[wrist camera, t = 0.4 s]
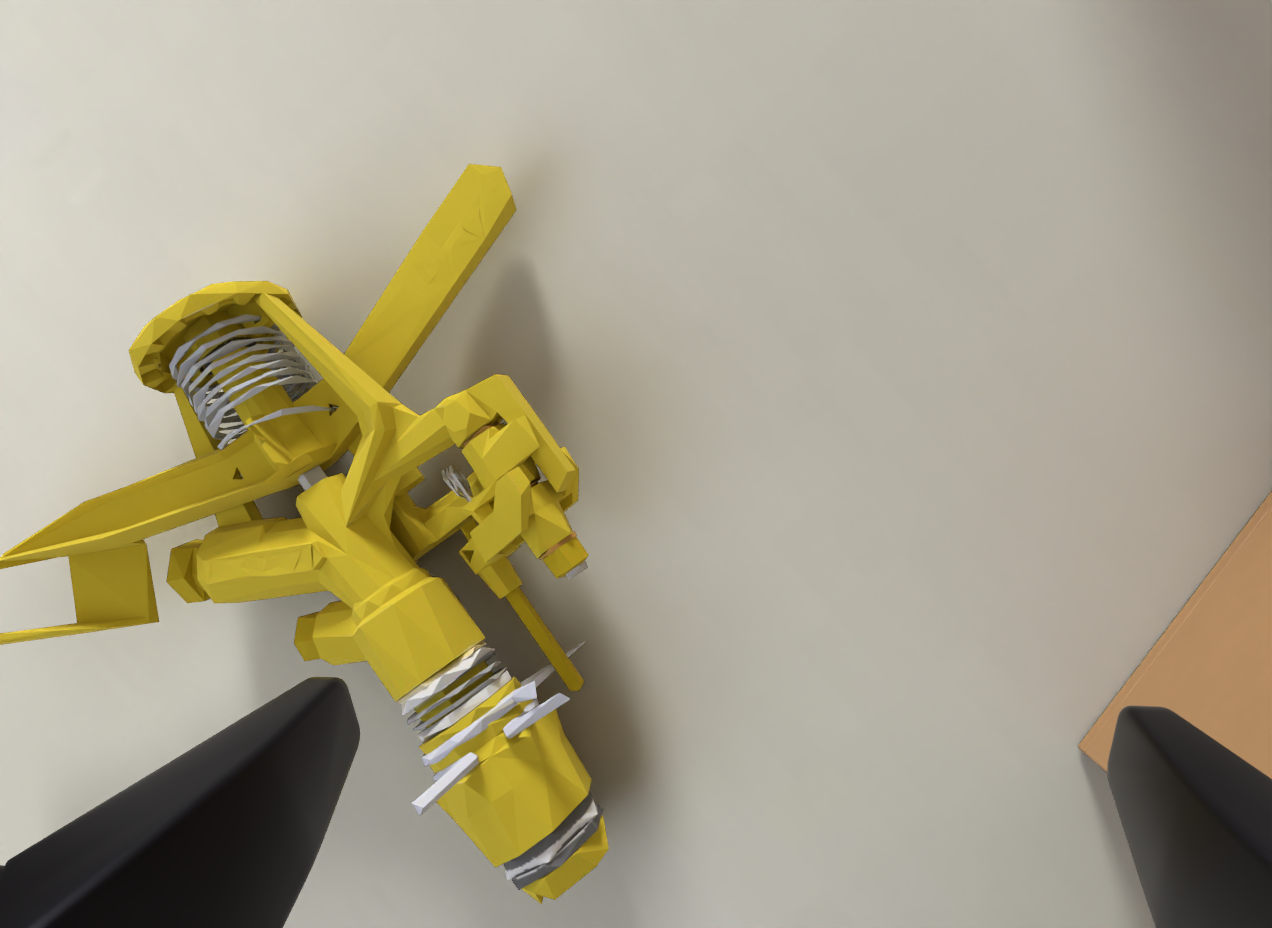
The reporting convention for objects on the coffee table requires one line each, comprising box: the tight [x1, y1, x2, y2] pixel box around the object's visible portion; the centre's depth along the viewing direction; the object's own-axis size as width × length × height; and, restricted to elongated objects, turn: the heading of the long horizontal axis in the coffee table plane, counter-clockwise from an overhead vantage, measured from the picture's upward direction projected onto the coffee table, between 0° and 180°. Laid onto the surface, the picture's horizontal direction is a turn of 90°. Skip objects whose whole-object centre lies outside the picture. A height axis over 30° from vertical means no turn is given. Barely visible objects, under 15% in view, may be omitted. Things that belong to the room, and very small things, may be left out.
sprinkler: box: [0, 164, 609, 904], centre depth 22 cm, size 22×6×20 cm
